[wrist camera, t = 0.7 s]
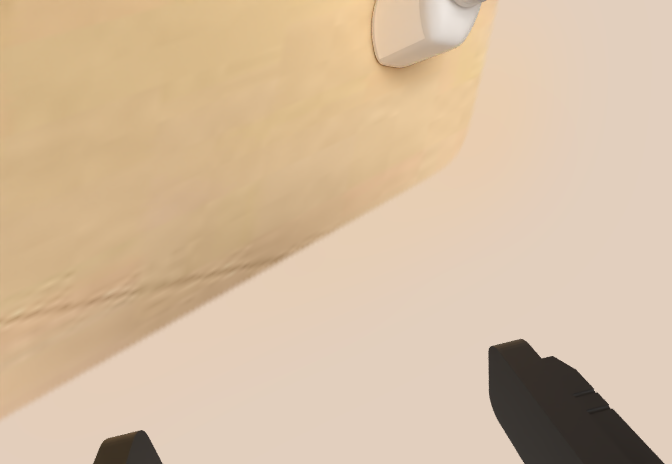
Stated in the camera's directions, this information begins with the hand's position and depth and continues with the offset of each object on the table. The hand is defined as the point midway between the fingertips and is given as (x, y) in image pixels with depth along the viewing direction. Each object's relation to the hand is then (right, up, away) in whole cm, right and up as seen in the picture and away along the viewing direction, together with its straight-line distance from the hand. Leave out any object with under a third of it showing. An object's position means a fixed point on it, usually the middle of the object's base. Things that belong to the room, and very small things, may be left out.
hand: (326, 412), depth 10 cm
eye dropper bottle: (+4, +19, +20) cm, 27 cm away
